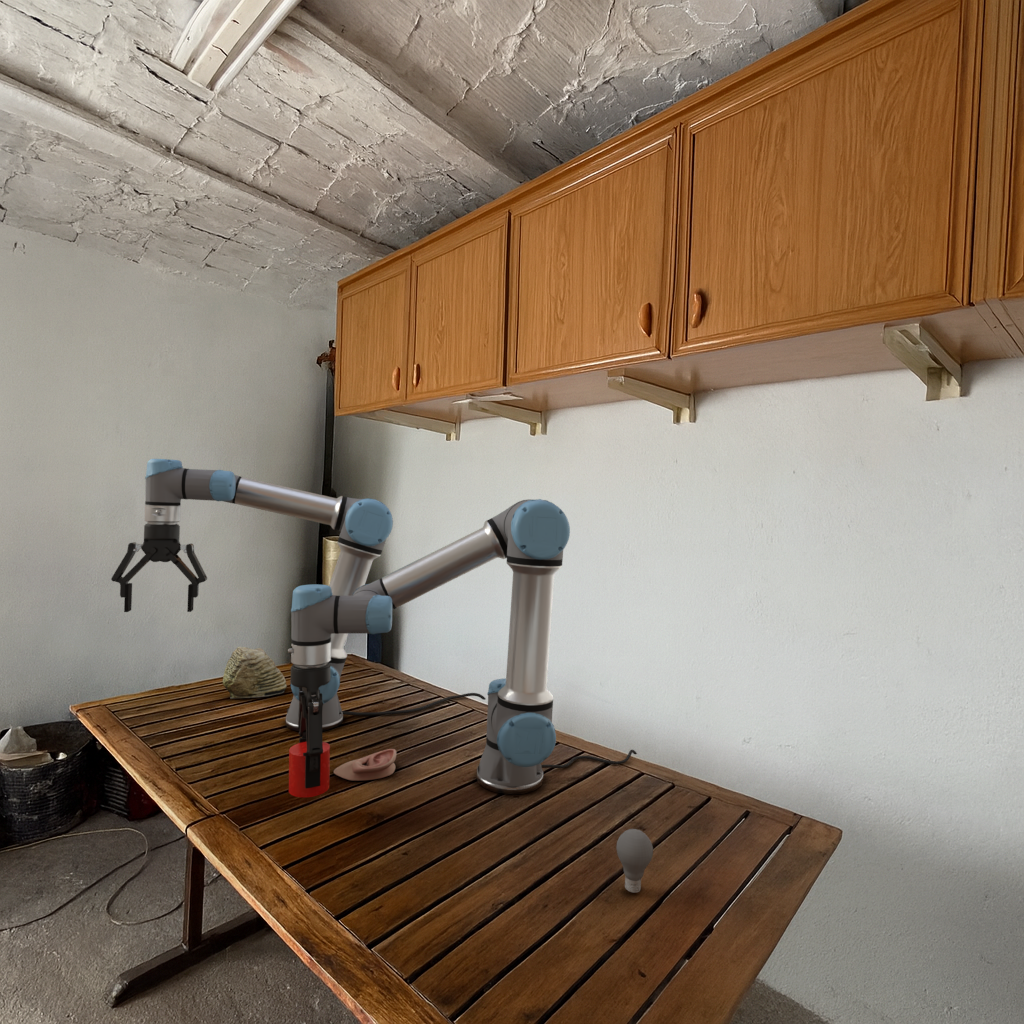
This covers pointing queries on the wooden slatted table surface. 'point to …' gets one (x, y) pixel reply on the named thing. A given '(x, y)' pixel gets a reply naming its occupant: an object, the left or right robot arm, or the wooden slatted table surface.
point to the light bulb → (634, 857)
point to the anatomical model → (369, 766)
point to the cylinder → (298, 771)
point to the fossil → (252, 674)
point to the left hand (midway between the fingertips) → (159, 611)
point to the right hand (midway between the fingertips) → (309, 777)
